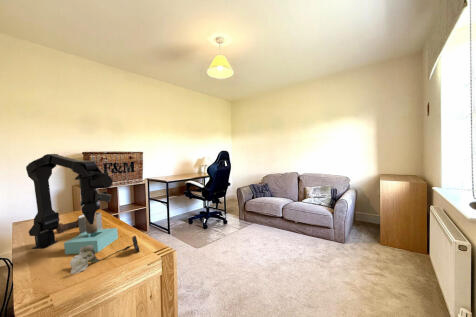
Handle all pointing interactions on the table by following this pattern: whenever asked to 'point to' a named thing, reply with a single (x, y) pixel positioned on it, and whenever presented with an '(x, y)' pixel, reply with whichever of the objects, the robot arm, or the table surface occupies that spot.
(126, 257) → the table surface
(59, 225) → the bolt
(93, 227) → the walnut dowel
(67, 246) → the socket block
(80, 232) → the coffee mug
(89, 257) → the artificial flower
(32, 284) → the table surface
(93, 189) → the robot arm
